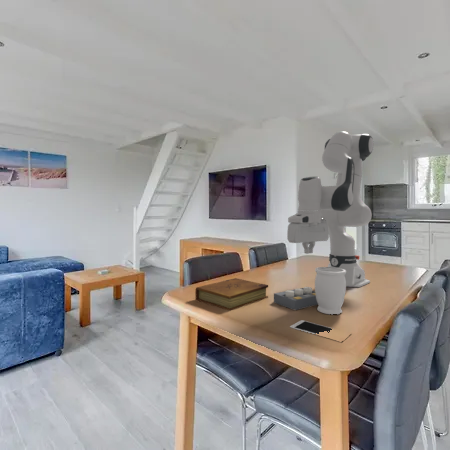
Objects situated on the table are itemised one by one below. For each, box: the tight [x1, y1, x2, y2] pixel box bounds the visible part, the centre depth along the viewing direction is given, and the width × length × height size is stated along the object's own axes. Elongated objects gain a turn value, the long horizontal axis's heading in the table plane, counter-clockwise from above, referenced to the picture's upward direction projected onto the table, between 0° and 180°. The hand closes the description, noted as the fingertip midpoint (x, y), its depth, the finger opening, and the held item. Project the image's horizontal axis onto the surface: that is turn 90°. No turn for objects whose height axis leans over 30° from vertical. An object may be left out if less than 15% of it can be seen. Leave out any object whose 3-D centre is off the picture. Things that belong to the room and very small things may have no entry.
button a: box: [285, 289, 294, 298], centre depth 115 cm, size 3×3×3 cm
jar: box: [314, 266, 347, 316], centre depth 108 cm, size 11×10×15 cm
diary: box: [194, 277, 269, 311], centre depth 123 cm, size 23×19×6 cm
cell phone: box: [289, 319, 332, 335], centre depth 90 cm, size 8×16×1 cm, turn 48°
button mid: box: [294, 288, 303, 296], centre depth 117 cm, size 3×3×3 cm
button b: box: [303, 286, 313, 294], centre depth 120 cm, size 3×3×3 cm
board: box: [273, 287, 319, 311], centre depth 117 cm, size 16×11×4 cm
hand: (308, 253), depth 119 cm, fingers closed
